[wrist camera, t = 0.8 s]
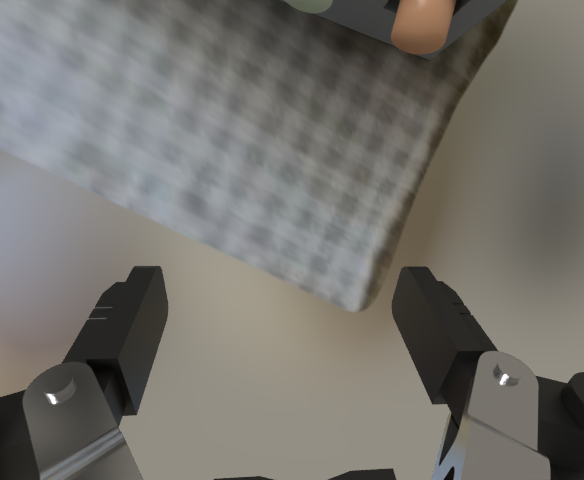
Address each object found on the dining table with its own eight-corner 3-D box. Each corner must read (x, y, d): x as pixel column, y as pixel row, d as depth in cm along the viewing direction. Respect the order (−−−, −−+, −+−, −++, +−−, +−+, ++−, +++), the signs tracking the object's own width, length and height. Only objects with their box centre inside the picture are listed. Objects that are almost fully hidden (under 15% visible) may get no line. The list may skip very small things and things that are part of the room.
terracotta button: (425, 60, 28) (457, 34, 24) (381, 42, 27) (407, 13, 23) (438, 12, 28) (472, -21, 24) (394, -7, 27) (423, -45, 23)
